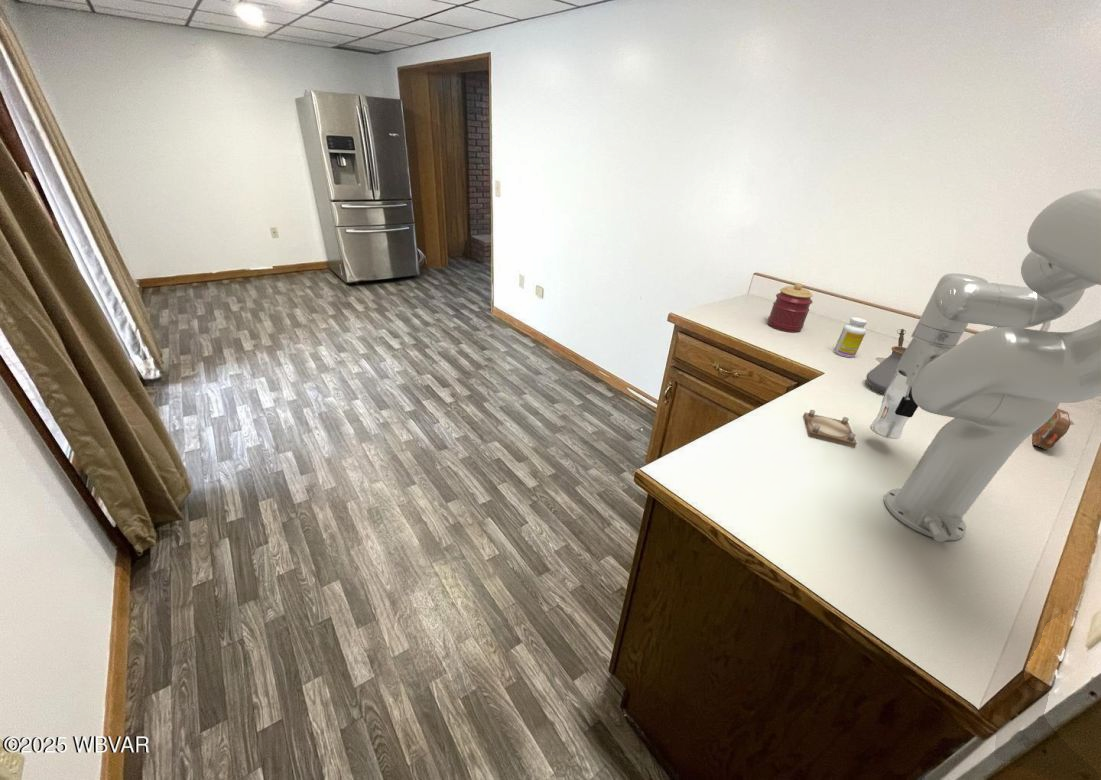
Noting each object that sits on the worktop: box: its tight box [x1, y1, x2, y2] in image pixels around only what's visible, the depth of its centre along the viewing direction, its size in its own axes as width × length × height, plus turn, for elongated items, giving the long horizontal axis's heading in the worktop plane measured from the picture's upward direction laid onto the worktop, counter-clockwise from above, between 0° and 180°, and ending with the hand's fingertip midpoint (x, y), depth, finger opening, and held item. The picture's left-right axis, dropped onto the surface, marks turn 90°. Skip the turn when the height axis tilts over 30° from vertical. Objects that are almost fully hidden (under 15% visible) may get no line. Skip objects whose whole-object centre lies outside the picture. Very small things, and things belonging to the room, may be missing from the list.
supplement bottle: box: [833, 316, 868, 358], centre depth 149 cm, size 7×7×13 cm
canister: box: [767, 283, 813, 333], centre depth 168 cm, size 13×13×18 cm
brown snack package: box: [1031, 407, 1071, 450], centre depth 108 cm, size 15×3×8 cm, turn 135°
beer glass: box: [869, 369, 920, 440], centre depth 98 cm, size 7×7×15 cm
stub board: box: [803, 409, 858, 448], centre depth 107 cm, size 10×10×3 cm
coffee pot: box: [866, 328, 907, 395], centre depth 130 cm, size 21×12×15 cm, turn 149°
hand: (897, 407), depth 98 cm, fingers closed on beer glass, 6 cm apart
